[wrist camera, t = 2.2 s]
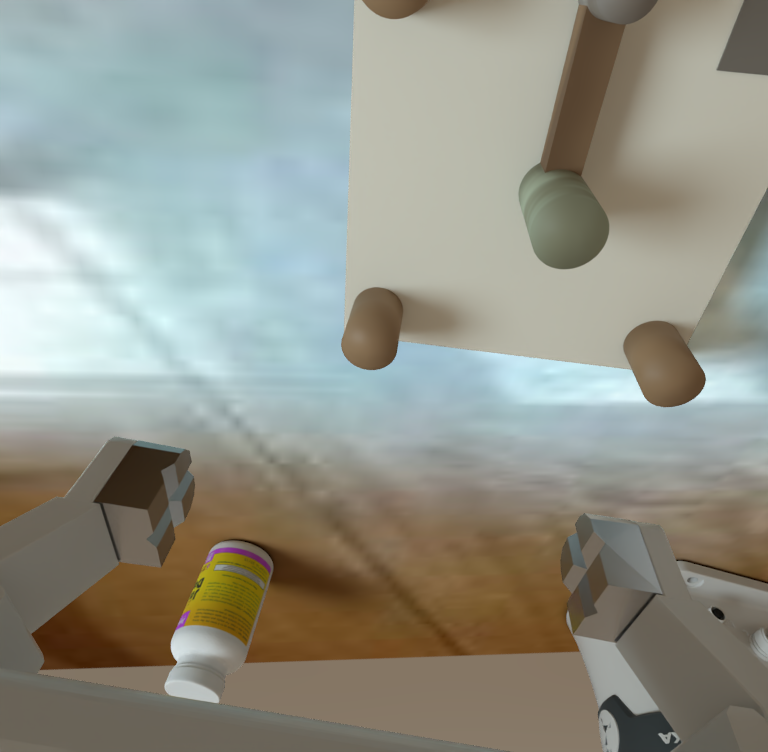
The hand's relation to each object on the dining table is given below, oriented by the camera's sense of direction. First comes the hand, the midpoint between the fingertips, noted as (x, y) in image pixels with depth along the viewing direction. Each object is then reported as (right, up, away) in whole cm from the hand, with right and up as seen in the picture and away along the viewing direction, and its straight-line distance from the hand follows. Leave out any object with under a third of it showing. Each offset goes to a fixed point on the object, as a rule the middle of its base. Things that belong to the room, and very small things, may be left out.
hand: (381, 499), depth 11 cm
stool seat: (+9, +13, +17) cm, 23 cm away
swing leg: (+8, +15, +12) cm, 21 cm away
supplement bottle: (-14, -16, +42) cm, 47 cm away
